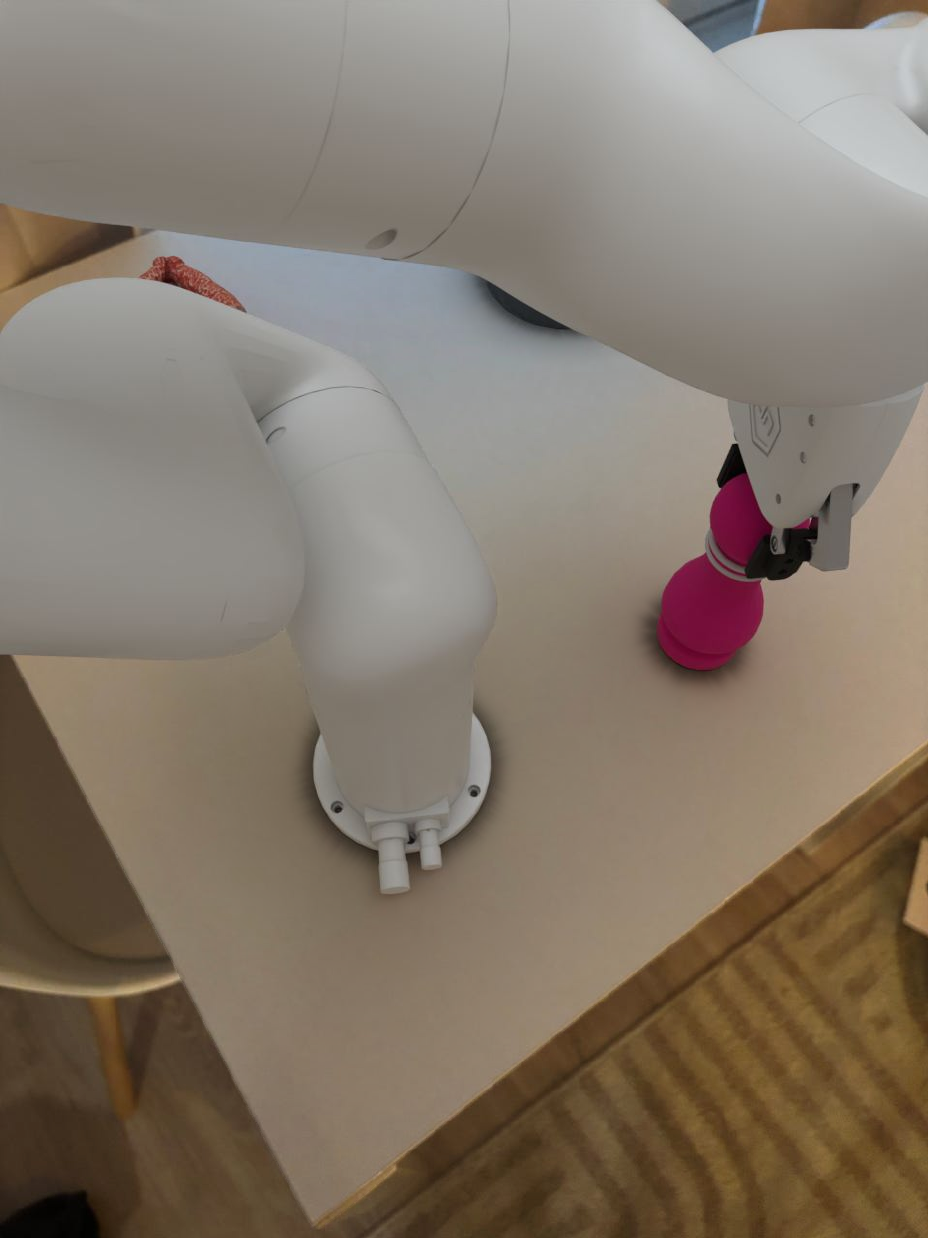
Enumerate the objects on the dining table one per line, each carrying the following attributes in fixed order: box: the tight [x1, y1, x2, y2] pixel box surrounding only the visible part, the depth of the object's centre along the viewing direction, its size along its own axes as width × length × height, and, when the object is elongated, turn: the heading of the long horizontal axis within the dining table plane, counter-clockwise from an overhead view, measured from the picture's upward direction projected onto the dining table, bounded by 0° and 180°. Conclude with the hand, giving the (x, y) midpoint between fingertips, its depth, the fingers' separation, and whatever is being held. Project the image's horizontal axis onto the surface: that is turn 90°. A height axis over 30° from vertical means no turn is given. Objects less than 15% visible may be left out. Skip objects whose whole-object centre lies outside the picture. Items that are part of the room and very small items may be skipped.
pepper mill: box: [656, 472, 811, 671], centre depth 64 cm, size 7×7×20 cm
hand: (754, 525), depth 59 cm, fingers closed on pepper mill, 6 cm apart
